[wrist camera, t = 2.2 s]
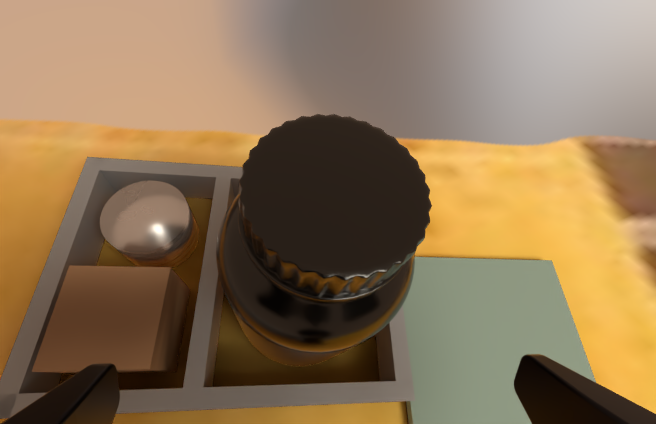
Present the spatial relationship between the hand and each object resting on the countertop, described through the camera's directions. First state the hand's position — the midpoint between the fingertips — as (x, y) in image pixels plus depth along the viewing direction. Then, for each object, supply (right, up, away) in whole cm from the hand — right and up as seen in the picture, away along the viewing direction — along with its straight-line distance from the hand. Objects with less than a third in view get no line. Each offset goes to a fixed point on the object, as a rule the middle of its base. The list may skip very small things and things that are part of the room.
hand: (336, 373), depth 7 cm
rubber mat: (+9, -5, +11) cm, 15 cm away
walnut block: (-10, -2, +9) cm, 14 cm away
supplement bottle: (-2, -2, +11) cm, 11 cm away
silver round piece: (-10, +2, +12) cm, 15 cm away
